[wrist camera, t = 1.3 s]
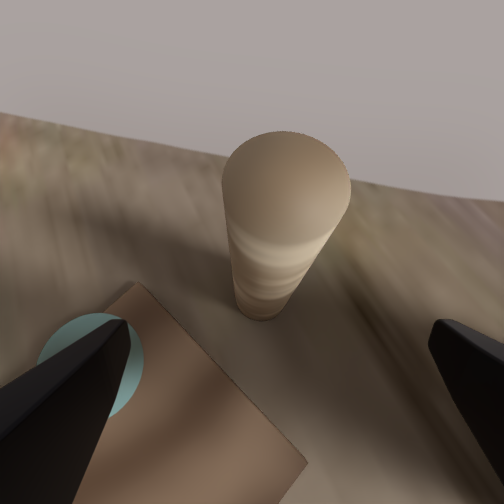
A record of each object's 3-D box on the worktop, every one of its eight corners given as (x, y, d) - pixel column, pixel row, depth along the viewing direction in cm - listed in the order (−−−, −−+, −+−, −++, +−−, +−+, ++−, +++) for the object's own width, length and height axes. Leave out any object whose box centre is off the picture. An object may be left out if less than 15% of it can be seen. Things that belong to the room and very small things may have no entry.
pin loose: (296, 294, 20) (376, 181, 8) (261, 332, 19) (292, 269, 7) (259, 261, 21) (281, 112, 9) (224, 295, 20) (194, 182, 8)
